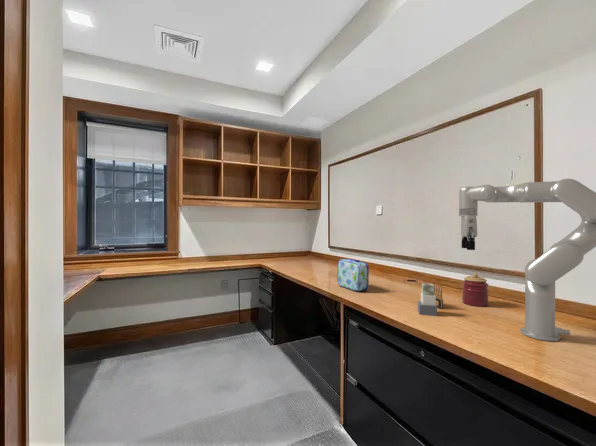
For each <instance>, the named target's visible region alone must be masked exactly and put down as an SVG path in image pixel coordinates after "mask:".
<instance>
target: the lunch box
mask: <svg viewBox="0 0 596 446" xmlns="http://www.w3.org/2000/svg"><path fill="white" fill-rule="evenodd" d="M369 269H370V268H369V264H368V263H367V262H364V261H361V260H360V259H359V260H357V259H352V258H344V259H343V258H342V259H339V260H338V263H337V275H336V277H337V278H336V279H337V284H338V286H339V287H341V288H345V289H348V290H352V291H353V292H361V291H362V292H363V291H367V290H368V288H369V284H370V283H369V282H370V281H369V278H370V277H369V276H370V275H369V272H370V271H369Z"/></svg>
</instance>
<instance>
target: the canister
mask: <svg viewBox="0 0 596 446" xmlns="http://www.w3.org/2000/svg"><path fill="white" fill-rule="evenodd" d="M463 279H464V280H463V281H462V288H461V289H462V297H461V298H462V299H461V300H462V303H463V304H465V305H467V306H472V307H487V306H489V289H488V287H489V283H487V281H488V280H487V278H484V277H482V276H479V274H478V273H476V272H475V273H473V274H472V275H468V276H465V277H464V278H463Z"/></svg>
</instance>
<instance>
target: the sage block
mask: <svg viewBox="0 0 596 446" xmlns="http://www.w3.org/2000/svg"><path fill="white" fill-rule="evenodd" d="M434 285H435V284H433V283H430V284H429V283H428V282H427V283H426V282H422V284H421V292H422V294H423V295H432V296H434Z"/></svg>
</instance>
